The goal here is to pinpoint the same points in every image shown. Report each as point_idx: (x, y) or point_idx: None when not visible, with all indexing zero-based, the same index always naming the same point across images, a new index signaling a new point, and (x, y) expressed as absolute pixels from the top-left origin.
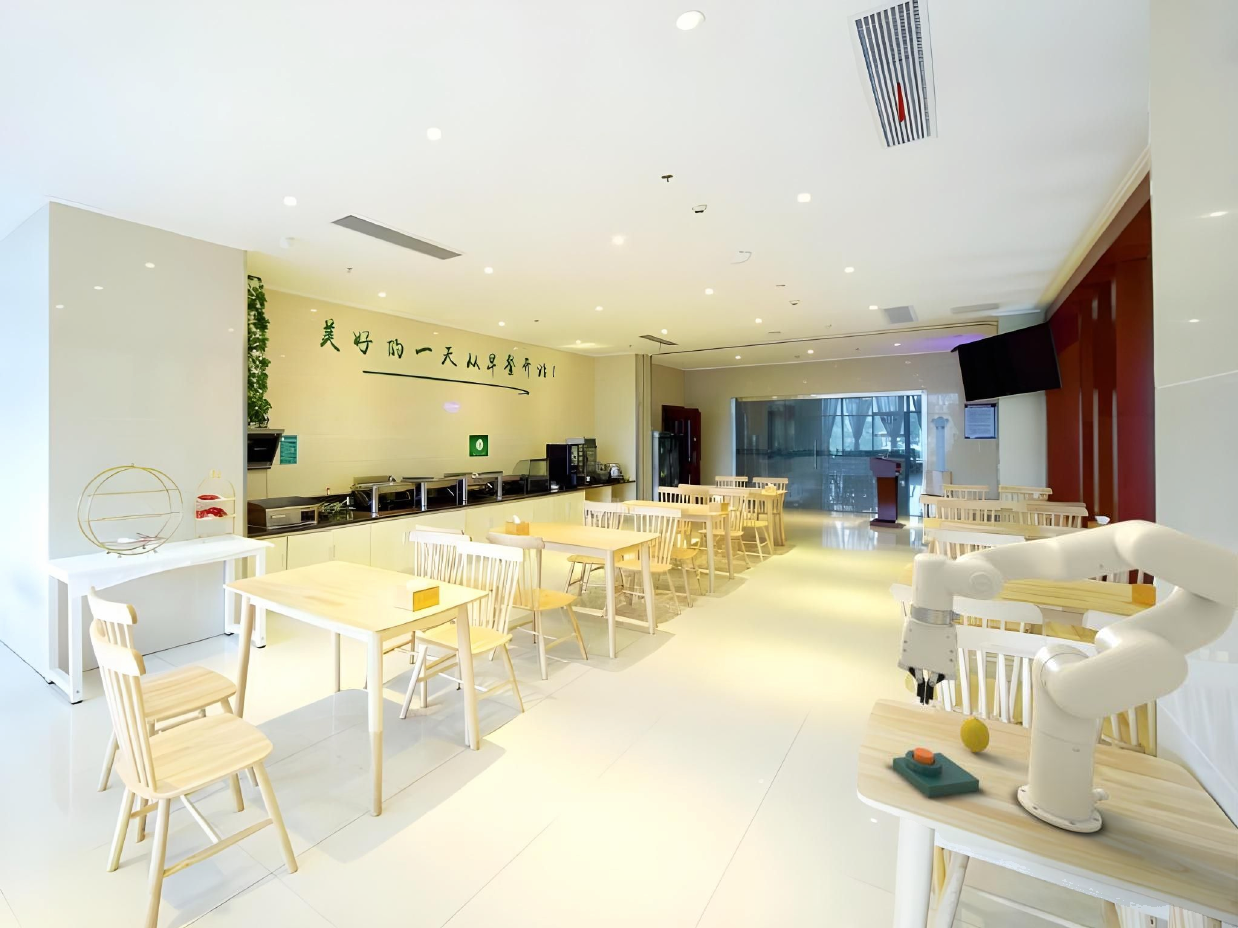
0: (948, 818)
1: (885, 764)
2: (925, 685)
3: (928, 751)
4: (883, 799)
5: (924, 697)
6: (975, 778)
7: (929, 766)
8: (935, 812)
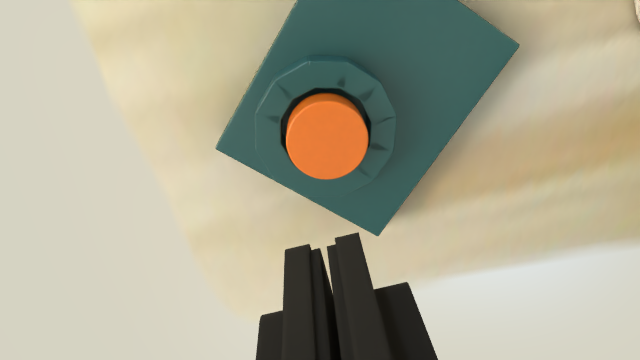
0: (441, 272)
1: (192, 130)
2: (329, 338)
3: (341, 118)
4: None
5: (331, 294)
6: (506, 44)
7: (362, 177)
8: (406, 272)
